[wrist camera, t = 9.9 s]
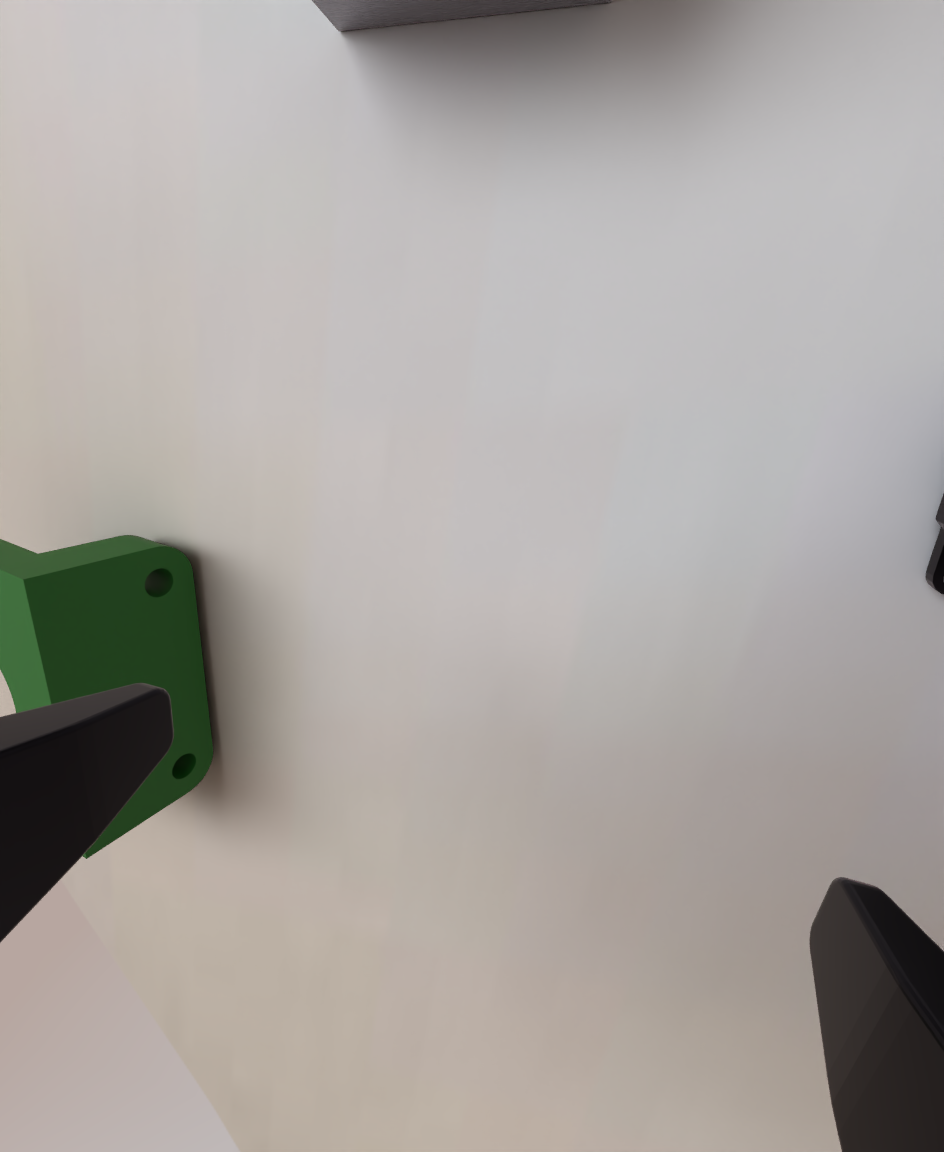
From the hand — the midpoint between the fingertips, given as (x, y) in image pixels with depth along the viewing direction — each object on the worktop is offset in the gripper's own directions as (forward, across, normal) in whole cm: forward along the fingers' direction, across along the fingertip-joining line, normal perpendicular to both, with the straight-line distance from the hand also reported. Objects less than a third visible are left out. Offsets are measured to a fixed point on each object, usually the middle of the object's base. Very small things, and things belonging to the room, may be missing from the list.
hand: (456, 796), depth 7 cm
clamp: (+12, +18, +8) cm, 23 cm away
